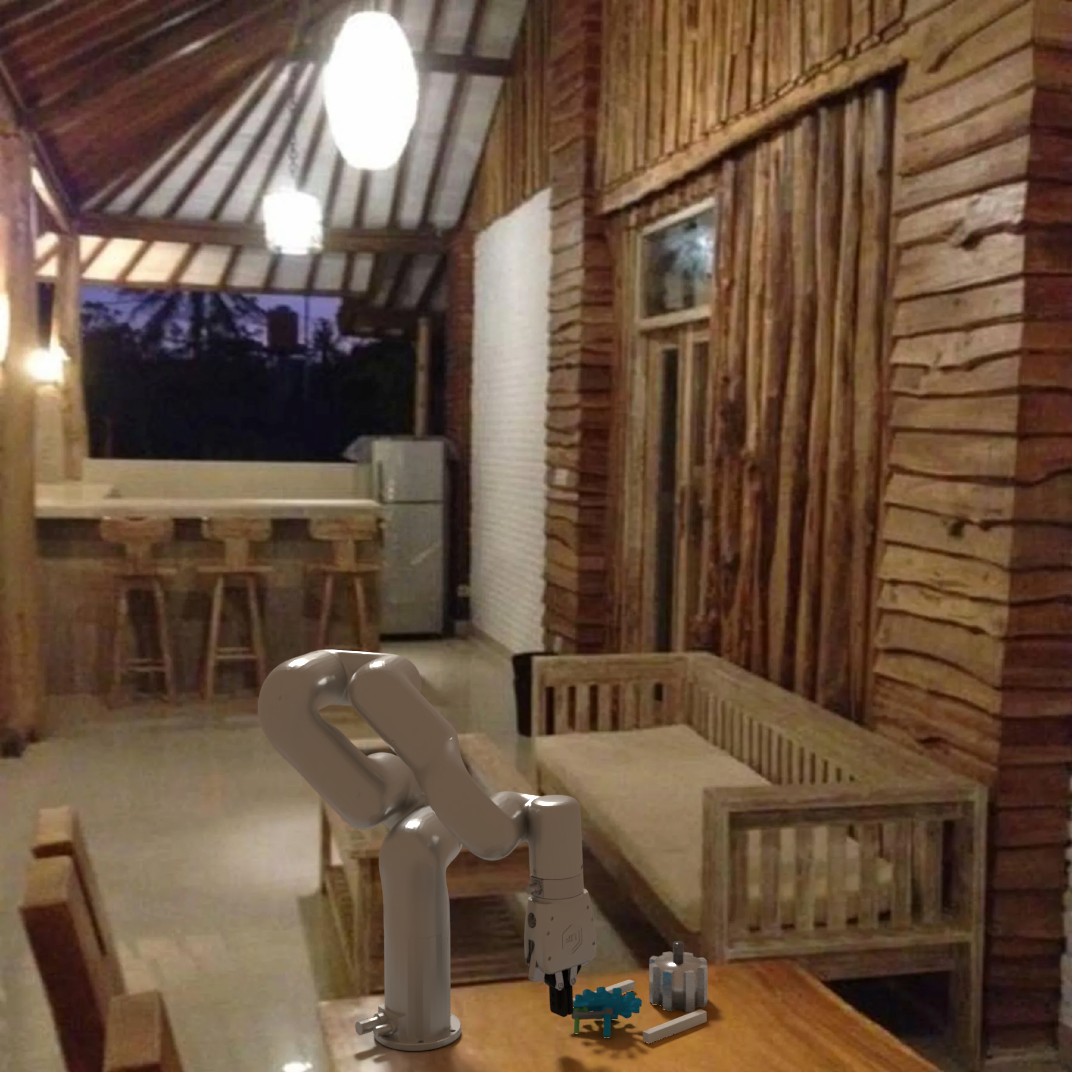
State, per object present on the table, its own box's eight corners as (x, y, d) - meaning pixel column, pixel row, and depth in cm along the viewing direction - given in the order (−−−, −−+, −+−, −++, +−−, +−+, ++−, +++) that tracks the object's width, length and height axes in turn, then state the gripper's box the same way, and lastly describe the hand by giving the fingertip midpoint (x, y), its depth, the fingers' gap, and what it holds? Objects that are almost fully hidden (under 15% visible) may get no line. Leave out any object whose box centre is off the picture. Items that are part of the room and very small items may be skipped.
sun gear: (678, 1017, 198) (679, 957, 197) (637, 999, 204) (637, 941, 204) (719, 1001, 203) (719, 944, 203) (677, 984, 210) (677, 928, 210)
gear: (647, 1009, 196) (634, 980, 189) (647, 1049, 192) (634, 1021, 185) (574, 1013, 199) (559, 984, 192) (573, 1052, 195) (557, 1025, 188)
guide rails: (648, 1044, 188) (648, 1033, 188) (572, 1008, 201) (572, 998, 201) (706, 1021, 196) (706, 1011, 196) (629, 988, 208) (629, 979, 208)
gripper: (533, 903, 179) (538, 1036, 180) (613, 878, 188) (618, 1005, 189) (498, 891, 185) (503, 1020, 185) (578, 868, 194) (583, 991, 195)
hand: (561, 1012), depth 187 cm, fingers closed
